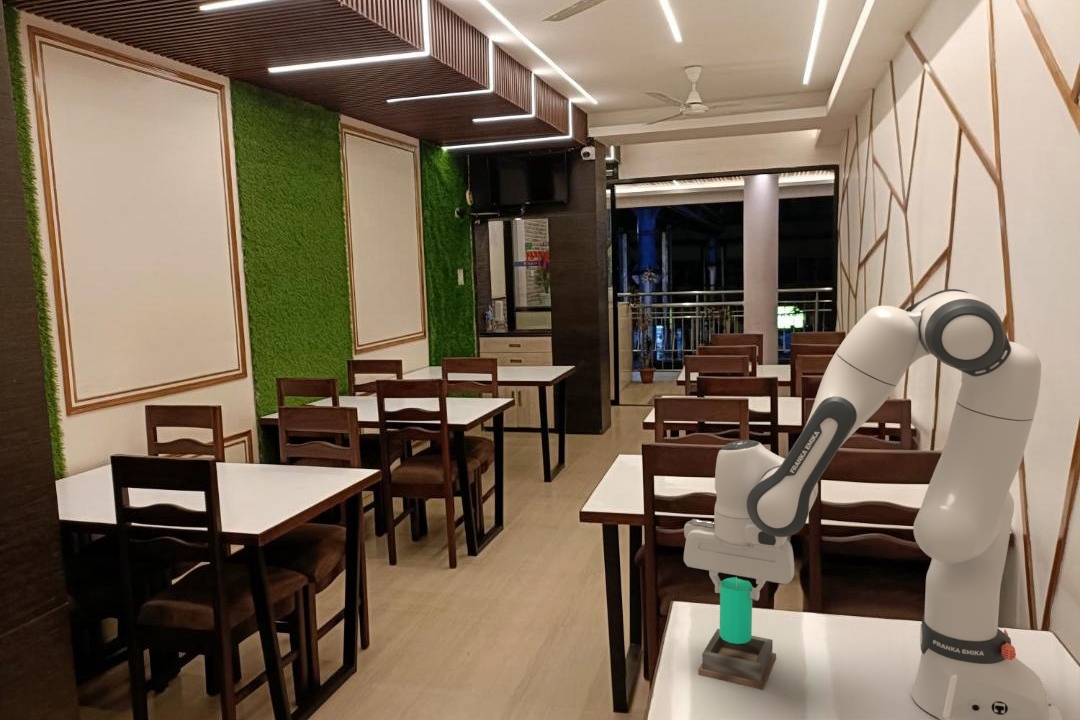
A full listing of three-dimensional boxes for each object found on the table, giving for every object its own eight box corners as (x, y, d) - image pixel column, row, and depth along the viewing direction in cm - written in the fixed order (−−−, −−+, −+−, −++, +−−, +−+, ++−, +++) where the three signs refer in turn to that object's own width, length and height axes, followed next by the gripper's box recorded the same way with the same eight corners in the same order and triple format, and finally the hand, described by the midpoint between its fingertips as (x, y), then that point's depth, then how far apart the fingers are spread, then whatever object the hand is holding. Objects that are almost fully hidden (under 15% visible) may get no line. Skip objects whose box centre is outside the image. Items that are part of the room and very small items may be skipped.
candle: (745, 647, 143) (746, 586, 141) (714, 638, 147) (715, 578, 145) (756, 633, 148) (757, 574, 146) (726, 625, 151) (727, 567, 150)
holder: (776, 658, 150) (776, 638, 150) (763, 689, 140) (763, 668, 139) (715, 645, 156) (715, 626, 155) (698, 674, 145) (698, 654, 145)
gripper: (679, 522, 146) (678, 591, 148) (791, 540, 136) (788, 613, 138) (689, 512, 151) (688, 579, 153) (797, 528, 142) (794, 599, 144)
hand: (736, 595), depth 146 cm, fingers closed on candle, 5 cm apart
